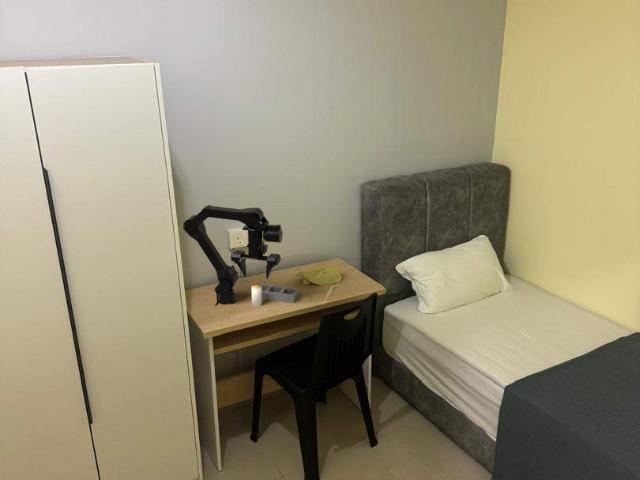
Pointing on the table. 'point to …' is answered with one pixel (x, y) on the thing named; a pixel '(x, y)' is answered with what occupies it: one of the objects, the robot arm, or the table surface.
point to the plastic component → (321, 276)
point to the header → (279, 293)
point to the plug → (256, 295)
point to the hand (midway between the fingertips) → (256, 277)
